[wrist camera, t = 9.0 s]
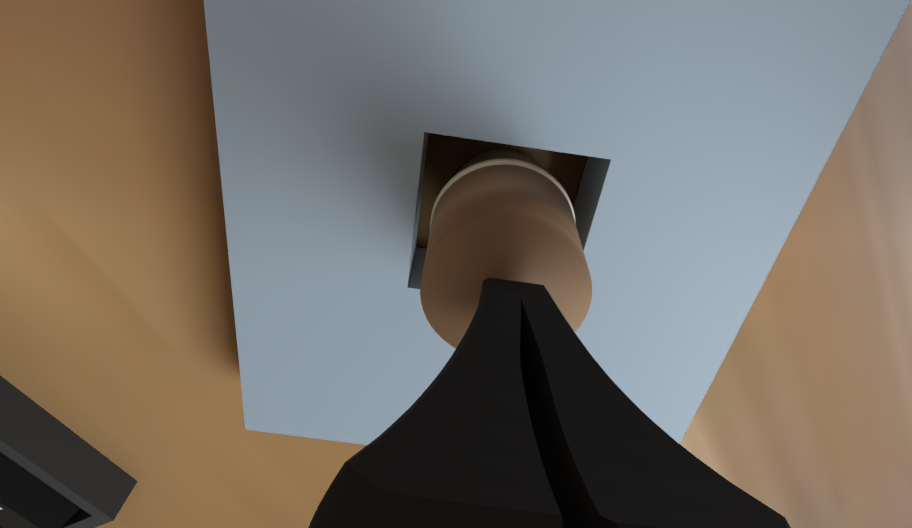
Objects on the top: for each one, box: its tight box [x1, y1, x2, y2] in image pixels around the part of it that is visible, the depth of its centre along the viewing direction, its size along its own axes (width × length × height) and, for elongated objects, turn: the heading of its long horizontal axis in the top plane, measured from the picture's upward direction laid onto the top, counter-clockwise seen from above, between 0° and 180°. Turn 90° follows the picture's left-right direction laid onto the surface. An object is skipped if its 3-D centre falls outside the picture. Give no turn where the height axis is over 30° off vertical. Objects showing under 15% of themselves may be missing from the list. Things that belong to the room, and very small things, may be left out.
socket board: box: [204, 0, 910, 445], centre depth 17 cm, size 16×20×2 cm
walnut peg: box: [420, 149, 592, 348], centre depth 16 cm, size 4×4×6 cm
